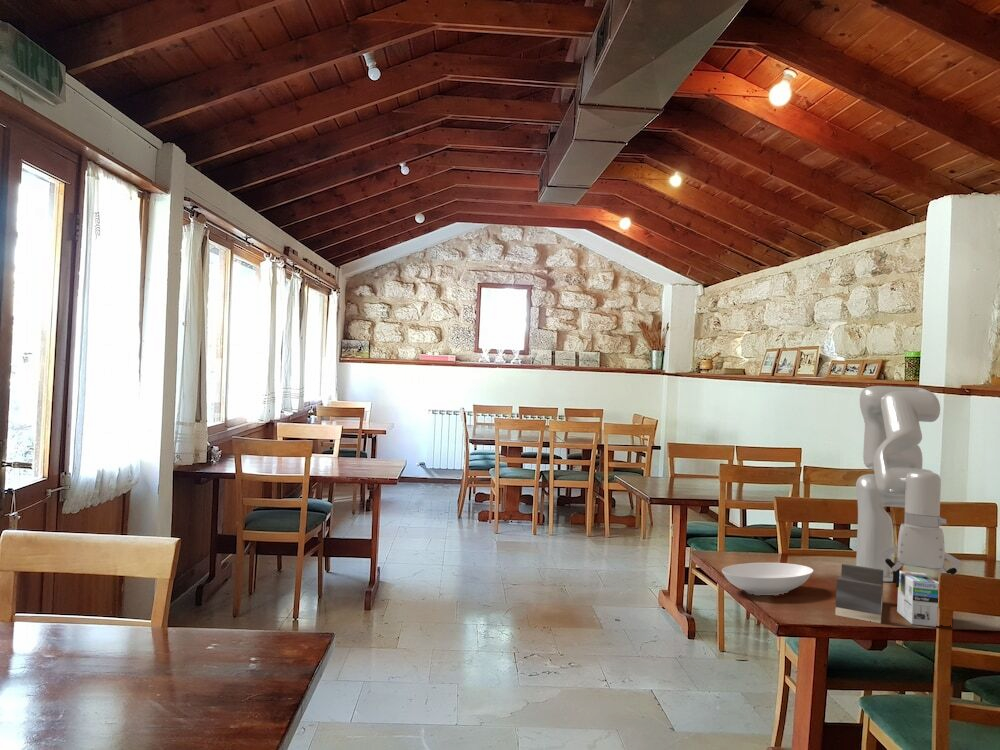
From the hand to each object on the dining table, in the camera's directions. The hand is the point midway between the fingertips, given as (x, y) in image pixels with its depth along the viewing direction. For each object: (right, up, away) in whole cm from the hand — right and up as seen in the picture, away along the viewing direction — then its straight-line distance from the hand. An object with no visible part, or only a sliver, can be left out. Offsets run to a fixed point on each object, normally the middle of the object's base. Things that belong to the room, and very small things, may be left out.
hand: (919, 589), depth 175 cm
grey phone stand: (-12, -7, +7) cm, 15 cm away
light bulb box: (0, -8, 0) cm, 8 cm away
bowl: (-31, -7, +19) cm, 37 cm away
